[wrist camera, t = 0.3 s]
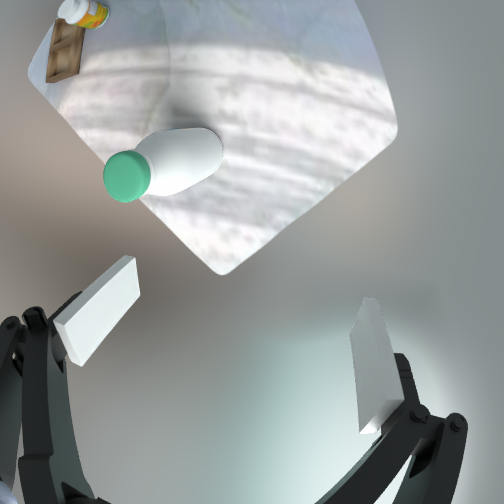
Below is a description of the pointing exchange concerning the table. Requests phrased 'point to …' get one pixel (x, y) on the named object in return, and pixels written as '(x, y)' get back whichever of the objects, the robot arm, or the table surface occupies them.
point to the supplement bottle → (84, 13)
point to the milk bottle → (163, 163)
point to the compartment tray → (64, 51)
